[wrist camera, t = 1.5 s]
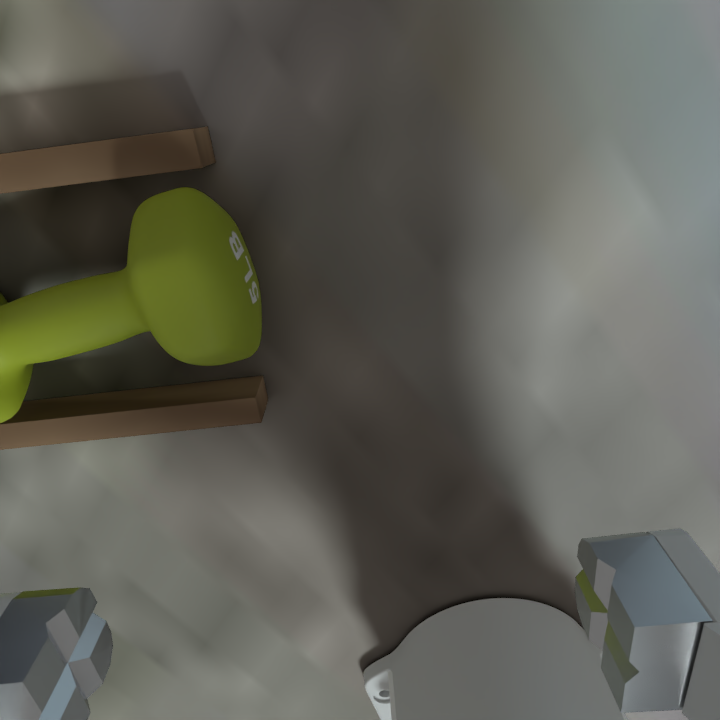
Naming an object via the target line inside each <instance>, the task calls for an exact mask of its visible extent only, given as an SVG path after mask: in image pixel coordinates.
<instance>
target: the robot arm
mask: <svg viewBox="0 0 720 720" xmlns="http://www.w3.org/2000/svg"><path fill="white" fill-rule="evenodd" d="M577 557H578V559H579V561H580V563H581V565H582V567H583V570H582V571H581V572H580V573H579V574H578V575H577V576H576V578H575V597H576V603H577V610H578V613H579V616H580V620H581V623H582V626H583V628H584V629H583V628H582V627H581V626H580V625H579V624H578V623H577V622H576V621H575V620H574V619H572V618H571V617H570V616H568V615H567V614H565V613H564V612H562V611H560V610H558V609H556V608H554V607H551V606H549V605H546V604H543V603H539V602H535V601H530V600H524V599H515V598H493V599H483V600H477V601H471V602H467V603H463V604H459V605H456V606H453V607H451V608H448V609H445V610H443V611H441V612H439V613H437V614H435V615H433V616H431V617H429V618H428V619H426V620H425V621H423V622H422V623H420V624H419V625H418V626H416V627H415V628H414V629H413V630H412V631H411V632H410V633H409V634H408V635H407V636H406V637H405V639H404V640H403V641H402V642H401V644H400V645H399V646H398V647H397V648H396V649H395V650H394V651H393V652H392V653H391V654H389V655H387V656H385V657H383V658H381V659H379V660H378V661H376V662H374V663H373V664H371V665H370V666H368V667H367V668H366V669H365V670H364V673H363V677H364V685H365V690H366V692H367V694H368V696H369V698H370V700H371V701H372V703H373V705H374V707H375V709H376V711H377V713H378V715H379V717H380V719H381V720H628V719H627V717H626V714H625V713H628V712H646V711H664V710H682V714H684V715H685V716H686V717H687V718H688V719H689V720H720V573H719V572H718V570H717V569H716V568H715V567H714V565H713V564H712V563H711V562H710V560H709V559H708V558H707V556H706V555H705V554H704V553H703V551H702V550H701V549H700V548H699V546H698V545H697V544H696V543H695V541H694V540H693V539H692V537H691V536H690V535H689V534H688V533H687V532H686V531H684V530H682V529H681V528H679V529H669V530H659V531H649V532H646V533H645V532H638V533H629V534H620V535H610V536H601V537H592V538H582V539H581V541H580V543H579V546H578V555H577ZM96 604H97V601H96V599H95V597H94V595H93V593H92V591H91V590H90V588H81V587H80V588H66V589H51V590H37V591H23V592H15V593H1V594H0V720H87V719H88V717H89V715H90V708H89V704H88V700H87V698H88V697H89V696H90V695H91V694H92V693H93V692H94V691H95V690H97V689H98V688H99V687H100V686H101V685H102V684H103V682H104V679H105V677H106V674H107V672H108V669H109V667H110V663H111V656H112V649H113V641H112V634H111V630H110V628H109V626H108V624H107V621H106V620H104V619H102V618H101V617H99V616H98V615H96V614H95V613H93V611H94V608H95V606H96Z"/></svg>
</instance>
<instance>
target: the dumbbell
mask: <svg viewBox="0 0 720 720" xmlns="http://www.w3.org/2000/svg"><path fill="white" fill-rule="evenodd" d="M148 331H151V333H152V334H153V336H154V337H155V339H156V340H157V342H158V343H159V344H160V345H161V346H162V347H163V349H164V350H165V351H166V352H167V353H168V354H170V355H171V356H173V357H174V358H176V359H177V360H180V361H182V362H185V363H188V364H193V365H201V366H215V365H223V364H227V363H232V362H235V361H239V360H243V359H246V358H248V357H251V356H252V355H253V354H254V353H255V352H256V351H257V349H258V347H259V345H260V341H261V334H262V307H261V294H260V287H259V282H258V278H257V275H256V271H255V268H254V265H253V263H252V260H251V257H250V254H249V252H248V249H247V247H246V244H245V242H244V240H243V237H242V235H241V233H240V231H239V229H238V227H237V225H236V224H235V222H234V220H233V219H232V218H231V217H230V215H229V214H228V213H227V212H226V211H225V210H224V209H223V208H222V207H220V206H219V205H218V204H217V203H216V202H215V201H214V200H212V199H211V198H210V197H208V196H207V195H206V194H204V193H202V192H200V191H198V190H196V189H194V188H189V187H182V188H176V189H173V190H169V191H166V192H163V193H160V194H157V195H154V196H152V197H150V198H148V199H146V200H145V201H144V202H143V203H142V204H141V205H139V207H138V208H137V210H136V212H135V214H134V216H133V219H132V224H131V230H130V237H129V244H128V257H127V266H126V267H125V268H124V269H123V270H121V271H117V272H112V273H106V274H100V275H96V276H91V277H87V278H83V279H79V280H75V281H71V282H67V283H63V284H60V285H56V286H53V287H50V288H47V289H44V290H41V291H38V292H35V293H32V294H29V295H27V296H24V297H21V298H19V299H17V300H14V301H12V302H9V303H8V302H7V301H6V299H5V298H4V296H3V295H2V294H1V293H0V423H2V422H4V421H6V420H8V419H10V418H12V417H13V416H14V415H15V414H16V413H17V412H18V410H19V409H20V407H21V404H22V402H23V400H24V397H25V395H26V392H27V390H28V386H29V383H30V379H31V375H32V370H33V363H40V362H47V361H52V360H56V359H60V358H64V357H68V356H72V355H76V354H80V353H83V352H87V351H91V350H94V349H98V348H101V347H104V346H108V345H111V344H114V343H117V342H120V341H123V340H125V339H127V338H130V337H132V336H135V335H137V334H140V333H143V332H148Z"/></svg>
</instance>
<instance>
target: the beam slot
mask: <svg viewBox="0 0 720 720" xmlns="http://www.w3.org/2000/svg"><path fill="white" fill-rule="evenodd" d="M215 162H216V161H215V156H214V152H213V147H212V143H211V138H210V134H209V129H208V126H207V127H200V128H192V129H185V130H177V131H169V132H162V133H154V134H146V135H139V136H131V137H123V138H116V139H108V140H100V141H93V142H85V143H78V144H70V145H62V146H55V147H47V148H39V149H32V150H24V151H16V152H9V153H1V154H0V194H1V193H9V192H17V191H25V190H33V189H40V188H48V187H56V186H64V185H72V184H80V183H88V182H95V181H103V180H111V179H119V178H127V177H135V176H143V175H150V174H158V173H166V172H174V171H182V170H190V169H198V168H203V167H205V166H208V165H210V164H213V163H215ZM267 402H268V396H267V391H266V387H265V382H264V378H263V376H254V377H245V378H235V379H226V380H217V381H208V382H198V383H189V384H180V385H171V386H161V387H152V388H143V389H134V390H124V391H115V392H106V393H96V394H87V395H78V396H69V397H59V398H50V399H41V400H32V401H23V402H22V404H21V407H20V409H19V410H18V412H17V413H16V414H15V415H14V416H13V417H12V418H10V419H8V420H6V421H4V422H2V423H0V450H2V449H12V448H21V447H31V446H41V445H50V444H60V443H70V442H79V441H89V440H99V439H108V438H118V437H128V436H137V435H147V434H156V433H166V432H176V431H185V430H195V429H205V428H214V427H224V426H234V425H243V424H253V423H261V422H262V419H263V415H264V412H265V409H266V405H267Z"/></svg>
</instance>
